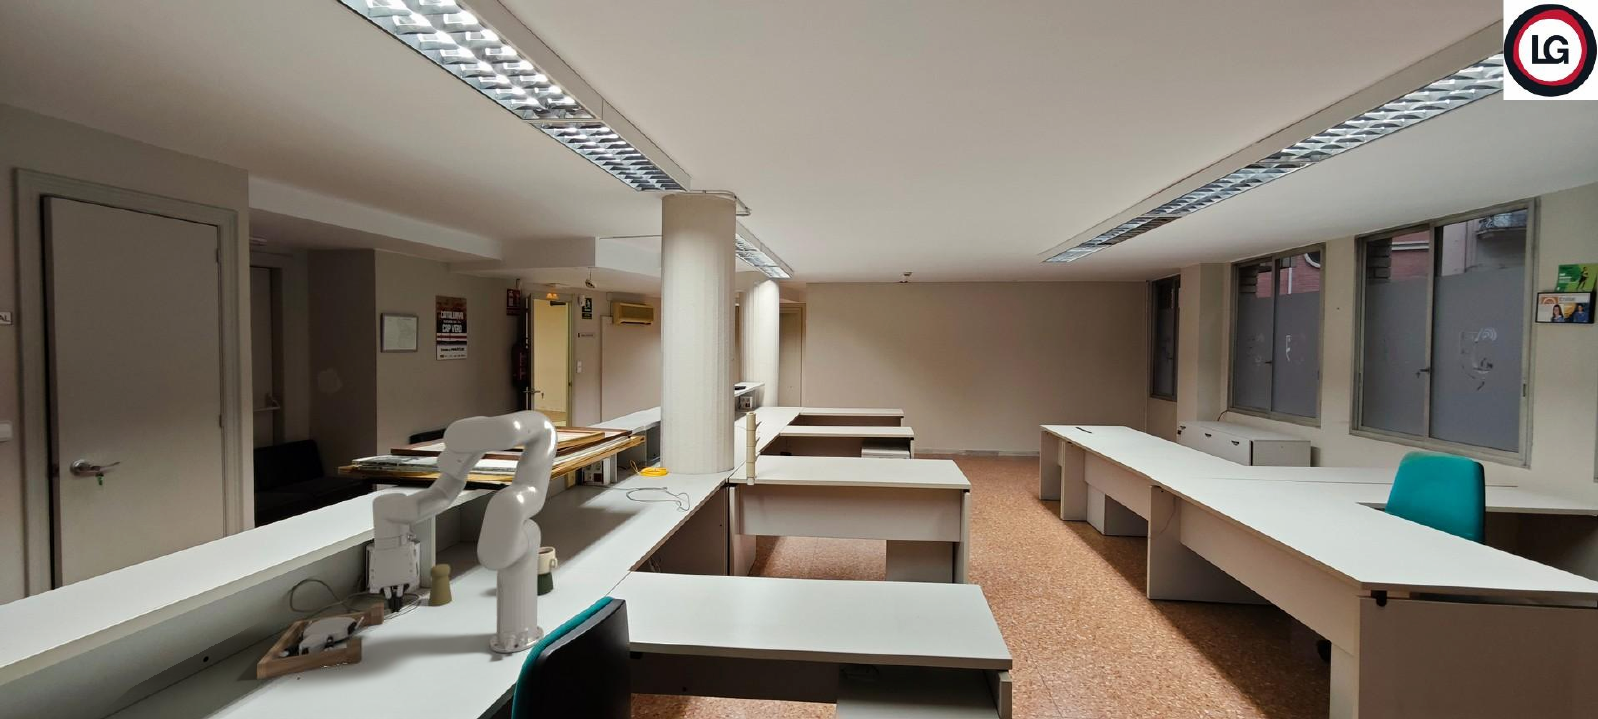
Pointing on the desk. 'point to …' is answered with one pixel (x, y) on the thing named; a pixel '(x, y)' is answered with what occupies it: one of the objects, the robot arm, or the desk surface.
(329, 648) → the robot toy
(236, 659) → the desk surface
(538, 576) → the character mug
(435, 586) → the cork
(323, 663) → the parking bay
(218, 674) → the desk surface
